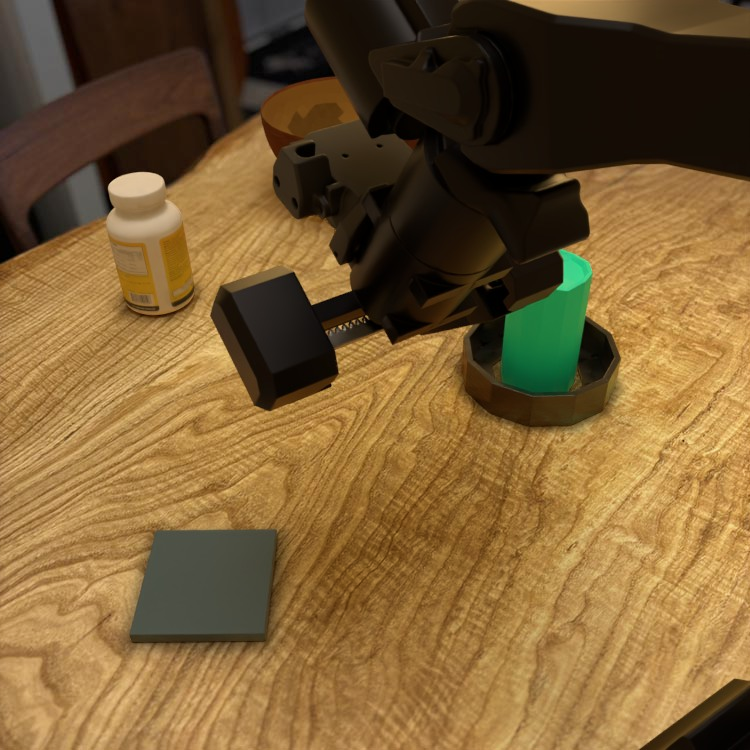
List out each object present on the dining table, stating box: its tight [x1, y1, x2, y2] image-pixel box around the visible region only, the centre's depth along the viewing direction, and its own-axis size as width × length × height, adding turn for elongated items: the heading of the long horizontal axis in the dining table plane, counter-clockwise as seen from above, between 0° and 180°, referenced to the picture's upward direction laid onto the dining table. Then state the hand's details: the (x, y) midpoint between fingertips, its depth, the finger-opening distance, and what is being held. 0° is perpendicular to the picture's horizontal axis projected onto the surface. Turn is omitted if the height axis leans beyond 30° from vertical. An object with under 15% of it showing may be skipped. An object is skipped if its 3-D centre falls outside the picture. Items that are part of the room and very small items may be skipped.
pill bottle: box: [105, 171, 196, 316], centre depth 75 cm, size 6×6×12 cm
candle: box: [499, 248, 594, 392], centre depth 66 cm, size 6×6×12 cm
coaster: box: [128, 528, 278, 643], centre depth 53 cm, size 8×8×1 cm
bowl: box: [260, 75, 419, 159], centre depth 92 cm, size 18×18×10 cm
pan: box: [461, 315, 622, 427], centre depth 75 cm, size 28×12×3 cm, turn 1°
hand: (355, 352), depth 52 cm, fingers open, 9 cm apart
